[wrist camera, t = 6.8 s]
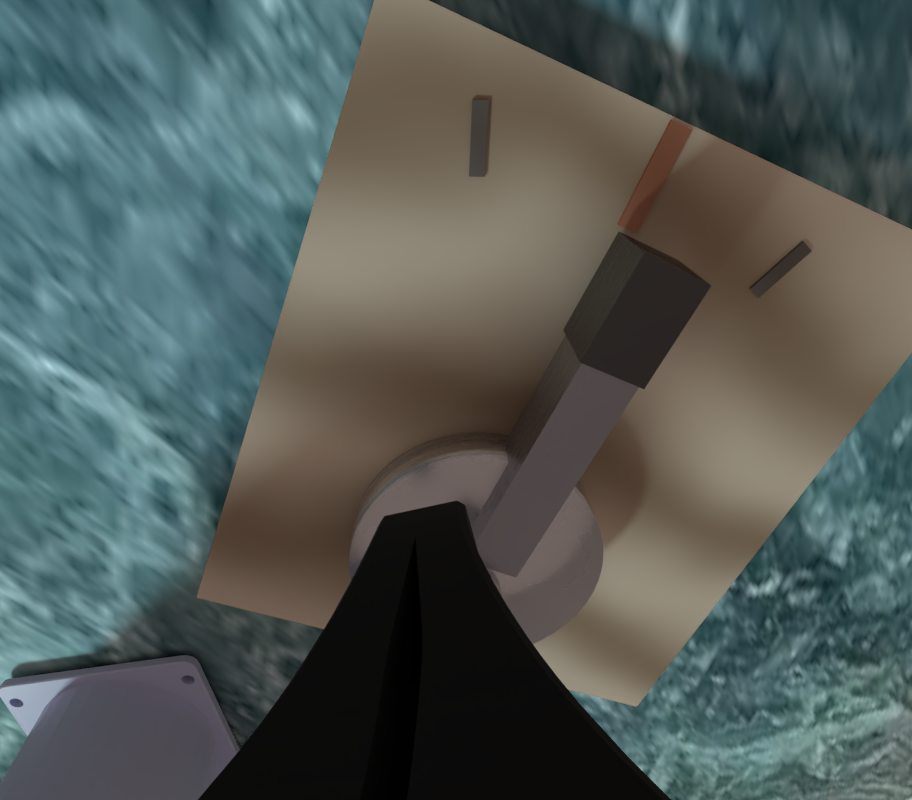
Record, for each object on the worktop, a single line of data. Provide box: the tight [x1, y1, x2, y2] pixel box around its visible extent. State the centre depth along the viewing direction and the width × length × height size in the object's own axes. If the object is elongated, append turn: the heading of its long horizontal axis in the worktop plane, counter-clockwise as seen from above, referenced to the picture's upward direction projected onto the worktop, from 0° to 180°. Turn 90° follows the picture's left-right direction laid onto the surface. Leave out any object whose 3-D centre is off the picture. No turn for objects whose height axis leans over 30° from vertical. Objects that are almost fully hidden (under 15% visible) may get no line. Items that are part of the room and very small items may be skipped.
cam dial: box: [349, 232, 711, 644], centre depth 19 cm, size 15×8×4 cm, turn 155°
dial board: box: [196, 0, 912, 706], centre depth 21 cm, size 20×18×1 cm
